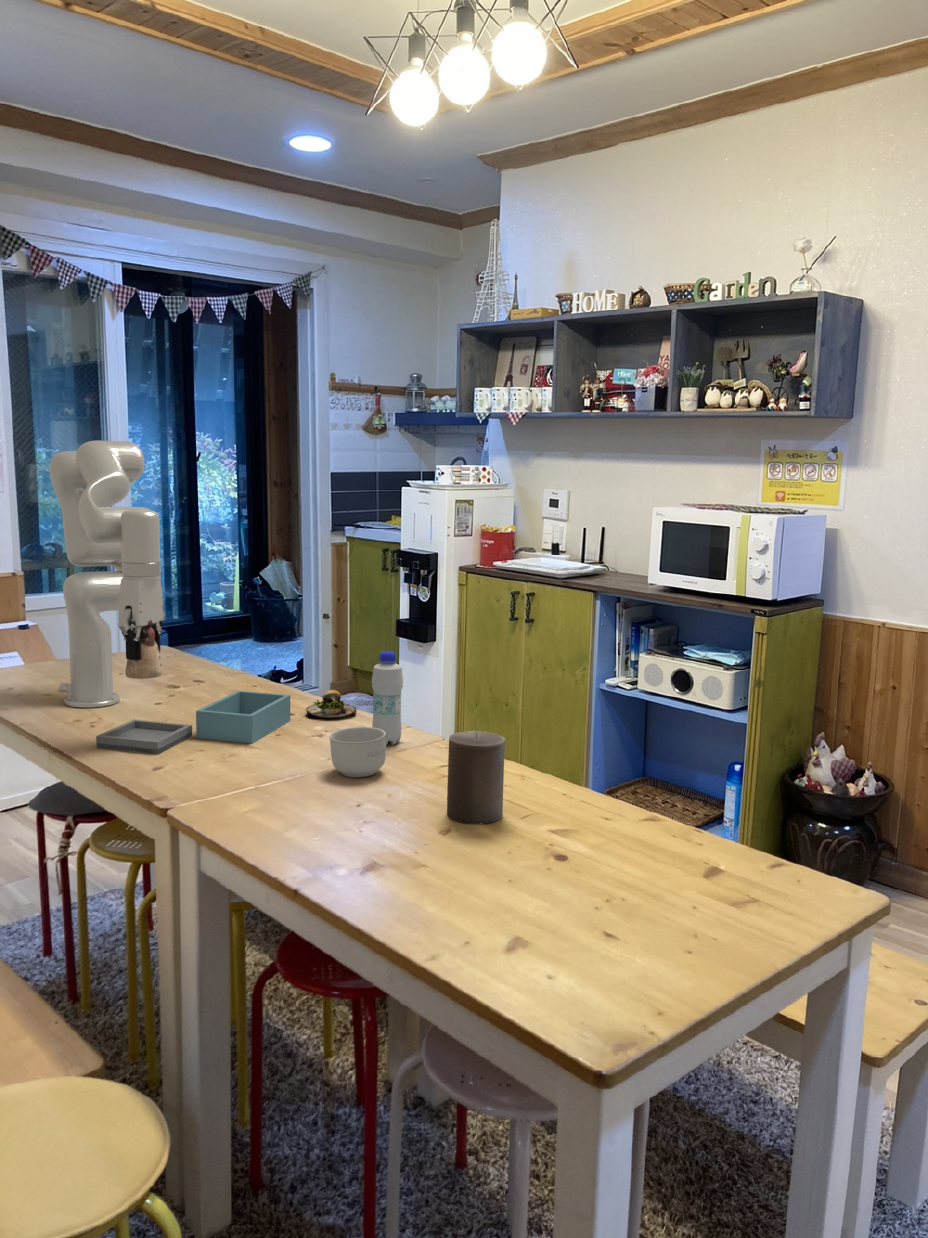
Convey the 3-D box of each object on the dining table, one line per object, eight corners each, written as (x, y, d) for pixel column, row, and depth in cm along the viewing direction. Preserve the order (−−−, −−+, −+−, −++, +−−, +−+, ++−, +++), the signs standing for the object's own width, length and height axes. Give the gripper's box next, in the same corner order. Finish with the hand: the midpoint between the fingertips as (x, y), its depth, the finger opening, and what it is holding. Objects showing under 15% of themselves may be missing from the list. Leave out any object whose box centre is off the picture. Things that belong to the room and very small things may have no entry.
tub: (196, 738, 213) (195, 710, 212) (238, 715, 232) (238, 690, 231) (252, 743, 210) (252, 716, 209) (290, 720, 229) (290, 695, 228)
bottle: (400, 747, 210) (402, 654, 207) (369, 746, 210) (370, 653, 207) (403, 738, 217) (405, 648, 214) (372, 737, 217) (373, 647, 214)
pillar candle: (455, 826, 166) (457, 739, 163) (440, 806, 175) (442, 724, 173) (510, 822, 168) (513, 737, 166) (493, 803, 178) (496, 722, 175)
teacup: (376, 784, 186) (376, 742, 185) (321, 778, 189) (321, 738, 187) (396, 762, 200) (396, 724, 199) (344, 758, 202) (344, 719, 201)
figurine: (149, 670, 212) (148, 614, 210) (168, 675, 208) (167, 618, 206) (119, 675, 206) (117, 618, 205) (138, 680, 202) (137, 622, 200)
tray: (96, 747, 204) (96, 736, 204) (134, 730, 217) (133, 719, 217) (158, 754, 201) (157, 742, 200) (192, 736, 214) (192, 725, 214)
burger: (298, 719, 231) (298, 688, 230) (317, 707, 243) (317, 677, 241) (346, 724, 229) (346, 692, 227) (363, 711, 240) (363, 681, 239)
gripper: (147, 565, 213) (149, 647, 215) (100, 574, 196) (103, 662, 199) (179, 567, 211) (181, 650, 214) (134, 576, 194) (136, 665, 197)
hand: (143, 655), depth 206 cm, fingers closed on figurine, 6 cm apart
